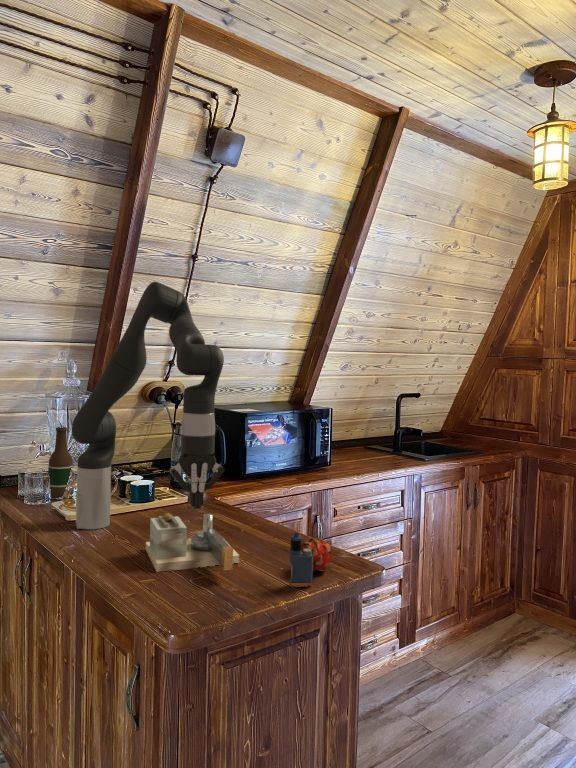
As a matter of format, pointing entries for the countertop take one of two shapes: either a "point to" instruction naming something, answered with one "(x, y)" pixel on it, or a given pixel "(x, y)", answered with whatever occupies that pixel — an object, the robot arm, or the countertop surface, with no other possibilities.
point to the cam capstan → (213, 543)
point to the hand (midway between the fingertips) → (196, 507)
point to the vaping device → (300, 561)
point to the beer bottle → (59, 464)
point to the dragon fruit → (318, 552)
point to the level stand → (176, 546)
